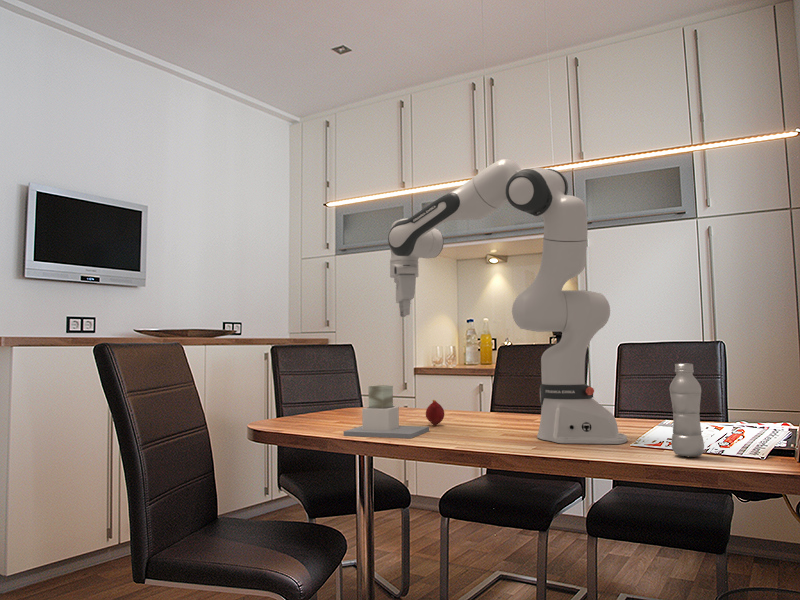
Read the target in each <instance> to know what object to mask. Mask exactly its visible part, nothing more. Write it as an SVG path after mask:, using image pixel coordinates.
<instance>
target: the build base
mask: <svg viewBox="0 0 800 600" xmlns="http://www.w3.org/2000/svg"><path fill="white" fill-rule="evenodd" d="M361 413H362V414H361V416H362V421H361V422H362V423H361V424H362V425H360V426H357V427H354V428H353V427H352V428H350V429H346V430H344V431H343V436H344V437H364V438H365V437H366V438H385V439H387V438H389V439H390V438H391V439H414V438H415V437H419V436H420V435H424V434H426V433H427V432H430V426H419V425H418V426H417V425H400V421H399V420H400V410H399V406H394V405H393V407H387V408H373V407H369V406H367V407H364V408H363V407H362V409H361Z"/></svg>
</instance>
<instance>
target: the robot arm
mask: <svg viewBox="0 0 800 600" xmlns="http://www.w3.org/2000/svg"><path fill="white" fill-rule="evenodd" d="M568 191H569V183H568V181H567V178H566V177H565V176H564V175H563V174H562V172H559V171H558V170H556V169H551V168H543V167H534V168H525V169H522V168H521V167H520V165H519V164H517V162H515V161H514V160H512V159H510V158H501V159H499V160H497V161H495V162H493V163H491V164H490V165H488V166H487V167H485V168H483V169H482V170H481V171H480V172H478V173H477V174H476V175H474V176H473V177H472V178H471V179H469V180H468V181H467V182H465V183H463V184H462V185H461V186H459V187H457V188H456V189H454V190H452V191H450V192H448V193H446V194H444V195H442V196H441V197H439V198H437V199H436V200H434V201H433V202H431V203H430V204H428V205H427V206H425V207H424V208H422V209H421V210H419V211H418V212H417V213H415V214H414V215H412V216H410V217H407V218H401V219H400V218H399V219H397V220H395V221H394V222H393V223H392V224H391V228H390V231H389V233H388V235H387V236H388V237H387V242H388V243H387V244H388V246H389V250H390V259H389V260H390V261H389V277H390V278H392V279H393V281H394V283H395V303H396V304H398V308H399V314H400V315H399V316H400V317H401V318H405V317H407V316H410V312H411V311H410V310H411V301H412V300H413V299H414V298H415V293H416V283H417V280H416V279H417V278H418V277H419V259H435V258H437V257H438V256H439V255H440V254H441V253H442V250H443V248H444V245H445V244H444V236H443V234H442V232H441V230H439V229H438V228H437V227H438V226H440V225H442V224H443V223H446V222H451V221H459V220H461V221H462V220H463V221H464V220H465V221H466V220H468V221H469V220H473V221H474V220H481V219H483V218H486V217H487V216H489V215H491V214H493V213H495V212H496V211H497V210H498V209H500V208H501V207H502V206H503V205H505V204H506V203H507V202H508V203H509V204H510V205H511V206H512V207H513V208H514V209H517V210H519V211H522V212H524V213H527V214H529V215H531V216H534V217H539V216H540V217H541V218H542V219H543V238H542V239H543V241H542V252H541V260H540V266H539V267H540V268H539V270H538V272H537V274H536V277H535V278H534V280H533V282H532V283H531V284H530V285H529V286H528V287H527V288H526V289H525V290H523V291H522V292H521V293H519V294H518V295H517V296H516V298H515V300H514V301H513V304H512V306H511V307H512V309H511V313H512V318H513V322H514V323H515V325H516V326H517V327H518V328H519V329H520V330H525V331H526V330H527V331H530V332H531V331H532V332H537V333H539V332H540V333H542V332H543V333H544V332H547V333H548V332H549V333H550V332H551V333H552V332H554V333H555V332H561V333H562V334H561V338H560V340H559V342H557V343H556V344H554V345H551V346H550V347H548V348H547V349H546V350H545V351H544V352H543V353H542V355H541V357H540V359H541V360H540V368H541V372H540V373H541V384H540V385H539V401H540V405H541V410H540V411H541V412H540V420H539V421H540V422H539V427H538V432H537V435H536V437H537V439H540V440H544V441H550V442H553V443H557V444H587V445H588V444H589V445H590V444H596V445H597V444H599V445H600V444H601V445H621V444H626V443H627V442H628V436H627V435H626V434H624V433H621V432H619V427H618V423H617V419H616V417H615V416H614V414H613V413H612V412H611V411H609V410H608V409H607V408H606V407H604V406H603V405H602V404H601V403H599V402H597V401H596V400H595V399H594V393H595V389H594V387H592V386H590V385H588V384H586V382H585V381H586V379H585V377H586V376H585V373H586V372H585V370H586V367H585V366H586V365H585V364H586V354H587V350H588V347H589V346H590V345H589V344H590V342H591V341H592V339H593V338H594V337H595V335H596V334H597V333H598V332H599V331H600V330H601V329H603V328H604V327H605V326H606V325H607V323H608V322H609V319H610V316H611V307H610V303H609V301H608V299H607V297H606V296H605V295H604V294H603V293H600V292H597V291H590V290H585V289H584V290H583V289H581V290H576V289H575V290H568V289H567V290H563V288H564V286H565V285H566V283H567V282H568V281H569V280H572V279H574V278H576V277H577V276H579V275H580V274H581V273H582V272H583V270H584V269H585V267H586V263H587V246H588V215H587V214H588V213H587V207H586V204H585V202H584V201H583V200H582V199H581V198H580V197H578V196H575V195H570V194H569V195H568V193H569V192H568Z"/></svg>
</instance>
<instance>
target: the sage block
mask: <svg viewBox="0 0 800 600" xmlns="http://www.w3.org/2000/svg"><path fill="white" fill-rule="evenodd" d="M393 386H394V385H384V384H382V385H380V384H379V385H368V407H373V408H387V407H393V406H394V397H393V396H394V392H393V391H394V389H393V388H394V387H393Z"/></svg>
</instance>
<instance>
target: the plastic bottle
mask: <svg viewBox="0 0 800 600" xmlns="http://www.w3.org/2000/svg"><path fill="white" fill-rule="evenodd" d="M674 373H676V375H675V376H674V377H673V379H672V381H671V383H670V384H669V394H670V395H669V396H670V400H671V406H672V413H673V414H672V416H673V418H672V419H673V423H672V436H671V442H670V443H671V449H672V452H673V453H674V455H678V456H680V457H684V456H689V457H688V458H693V457H692V456H696V457H700V456H702V454H703V453H704V450H705V443H704V438H703V435H702V427H701V418H700V417H701V416H700V412H701V397H702V386H701V383H699V381H698V379H697V378H696V377H695V376H694V375H693V373H695V371H694V364H693V363H674Z"/></svg>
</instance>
